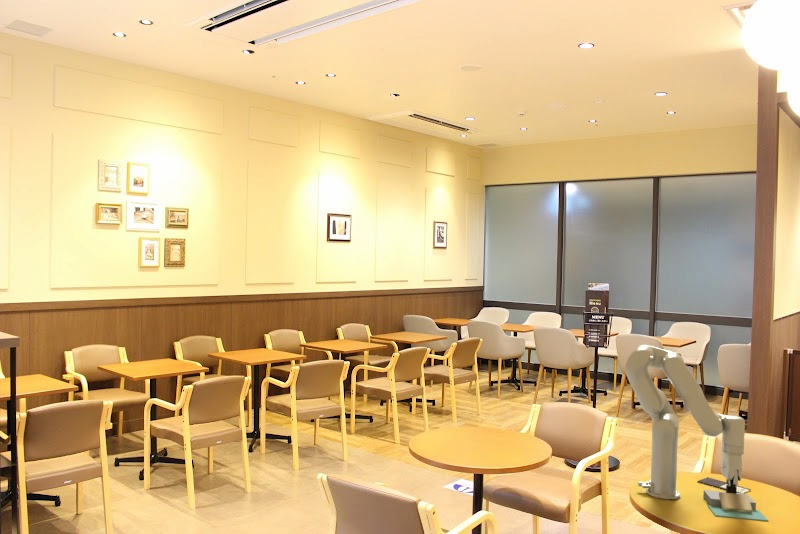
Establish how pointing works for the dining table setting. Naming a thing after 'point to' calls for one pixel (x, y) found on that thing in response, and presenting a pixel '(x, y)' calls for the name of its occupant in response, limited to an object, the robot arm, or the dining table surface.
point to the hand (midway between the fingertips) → (731, 496)
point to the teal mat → (738, 514)
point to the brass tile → (735, 502)
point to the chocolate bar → (721, 484)
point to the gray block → (714, 499)
